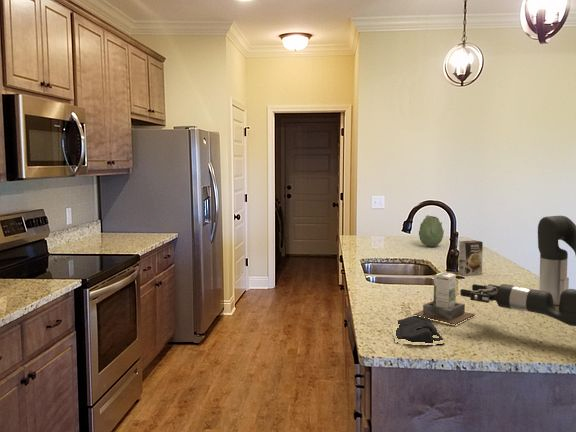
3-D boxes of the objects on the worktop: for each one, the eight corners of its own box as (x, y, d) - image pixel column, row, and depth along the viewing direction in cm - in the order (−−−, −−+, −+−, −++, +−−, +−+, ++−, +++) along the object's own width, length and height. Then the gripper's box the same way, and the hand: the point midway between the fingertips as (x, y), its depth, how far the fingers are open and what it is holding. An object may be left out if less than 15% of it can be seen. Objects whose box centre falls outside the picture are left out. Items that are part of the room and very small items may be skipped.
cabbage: (420, 249, 309) (420, 217, 307) (416, 244, 327) (416, 214, 325) (446, 249, 307) (446, 217, 304) (441, 244, 325) (441, 214, 323)
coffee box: (466, 276, 235) (466, 242, 233) (458, 273, 241) (458, 241, 239) (482, 274, 237) (483, 241, 235) (474, 271, 243) (474, 239, 242)
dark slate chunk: (435, 324, 169) (435, 311, 169) (446, 348, 148) (446, 333, 147) (390, 323, 172) (390, 310, 171) (393, 347, 150) (393, 331, 150)
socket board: (474, 316, 175) (474, 304, 174) (455, 326, 165) (455, 313, 165) (433, 308, 186) (433, 296, 186) (413, 316, 177) (413, 304, 176)
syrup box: (439, 310, 180) (440, 271, 178) (455, 313, 176) (455, 273, 174) (433, 314, 175) (433, 274, 174) (449, 317, 172) (449, 276, 170)
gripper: (505, 314, 152) (456, 304, 164) (524, 304, 162) (476, 296, 173) (506, 290, 151) (456, 282, 163) (524, 282, 161) (476, 275, 173)
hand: (466, 289), depth 168 cm, fingers open, 8 cm apart
